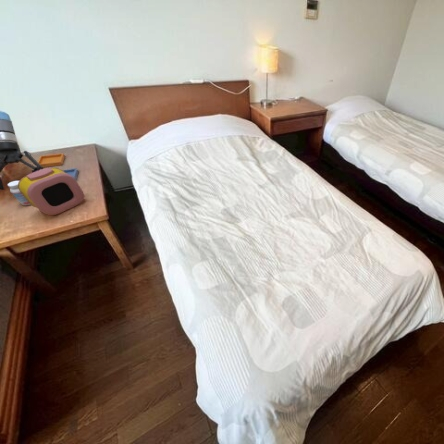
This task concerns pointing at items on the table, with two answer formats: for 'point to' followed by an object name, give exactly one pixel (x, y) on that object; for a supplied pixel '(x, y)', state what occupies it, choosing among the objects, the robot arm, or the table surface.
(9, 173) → the table surface
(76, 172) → the blue tray
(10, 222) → the table surface
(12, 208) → the table surface
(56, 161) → the amber tray
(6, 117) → the robot arm
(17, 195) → the pill bottle
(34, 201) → the alarm clock
